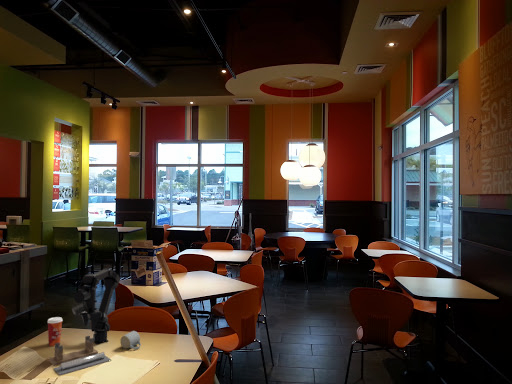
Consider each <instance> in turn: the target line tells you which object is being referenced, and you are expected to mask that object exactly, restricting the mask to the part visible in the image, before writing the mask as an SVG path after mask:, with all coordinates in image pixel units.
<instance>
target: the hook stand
mask: <svg viewBox="0 0 512 384" xmlns="http://www.w3.org/2000/svg"><path fill="white" fill-rule="evenodd" d="M84 340H85V341H84V342H85V344H84V348H83V349H80V350H79V349H78V350H76V351H72V352H69V353H64V345H63V344H61V342H60V343H55V346H54V355H53V356H52V357H49V359H48V360H49V362H50V363H51V365H53V366H54V367H55V366H56V367H58V366H60V365H61V363H65V362H69V361H72V360H76V359H80V358H83V357H87V356H91V355H94V354H98V353H99V351H98V350H97V349H95V348H94V338H93V337H91V335H85V339H84Z"/></svg>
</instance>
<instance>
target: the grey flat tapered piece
mask: <svg viewBox="0 0 512 384" xmlns="http://www.w3.org/2000/svg"><path fill="white" fill-rule="evenodd" d="M109 360H111V361H112V359H111V358H110V357H108V356H107V355H105V358H103V359H100V360H96V361H93V362H89V363H86V364H82V365H79V366H75V367H72V368H68V369H64V370H61V368H60V366H56V367H54V368H53V370H54V371H55V372H56V373H57V374H58V376H63V375H66V374H69V373H74V372H78V371H81V370H84V369H88V368H91V367H94V366H99V365H101V364H104V363H108V362H110V361H109ZM107 361H108V362H107Z"/></svg>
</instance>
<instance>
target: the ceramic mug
mask: <svg viewBox="0 0 512 384" xmlns="http://www.w3.org/2000/svg"><path fill="white" fill-rule="evenodd" d="M119 341H120V345H121V347H122V348H123V349H124V350H125V349H131V350H139V349H140V348H141V347H142V345H141V337H140V334H139V332H137V331H135V330H132V331H130V332H128V333H126V334H124V335H122V337H121V338H120V339H119Z"/></svg>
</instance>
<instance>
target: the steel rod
mask: <svg viewBox="0 0 512 384" xmlns="http://www.w3.org/2000/svg"><path fill="white" fill-rule="evenodd" d="M105 356H106V355H105V352H104V351H102V352H98V354H94V355H91V356H87V357H83V358H80V359H76V360H72V361H69V362H65V363H61V365H59V367H60V368H61V370H64V369H68V368H72V367H75V366H79V365H82V364H86V363H89V362H93V361H96V360H100V359H103V358H105Z"/></svg>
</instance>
